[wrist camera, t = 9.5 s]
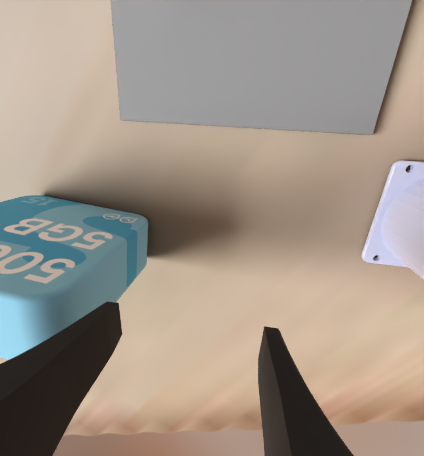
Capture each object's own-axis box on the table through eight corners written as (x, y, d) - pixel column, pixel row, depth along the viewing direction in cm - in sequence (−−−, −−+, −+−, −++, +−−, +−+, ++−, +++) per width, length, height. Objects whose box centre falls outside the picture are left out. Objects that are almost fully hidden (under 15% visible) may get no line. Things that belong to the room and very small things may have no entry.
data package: (154, 216, 21) (47, 305, 10) (152, 259, 23) (58, 375, 12) (33, 192, 22) (-186, 248, 11) (39, 235, 24) (-144, 321, 13)
